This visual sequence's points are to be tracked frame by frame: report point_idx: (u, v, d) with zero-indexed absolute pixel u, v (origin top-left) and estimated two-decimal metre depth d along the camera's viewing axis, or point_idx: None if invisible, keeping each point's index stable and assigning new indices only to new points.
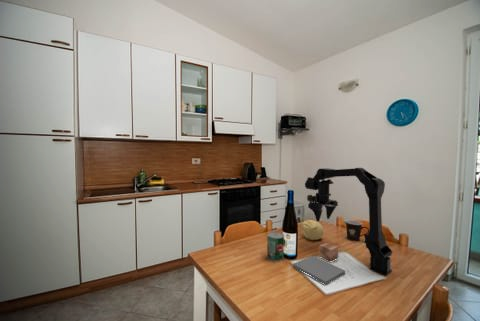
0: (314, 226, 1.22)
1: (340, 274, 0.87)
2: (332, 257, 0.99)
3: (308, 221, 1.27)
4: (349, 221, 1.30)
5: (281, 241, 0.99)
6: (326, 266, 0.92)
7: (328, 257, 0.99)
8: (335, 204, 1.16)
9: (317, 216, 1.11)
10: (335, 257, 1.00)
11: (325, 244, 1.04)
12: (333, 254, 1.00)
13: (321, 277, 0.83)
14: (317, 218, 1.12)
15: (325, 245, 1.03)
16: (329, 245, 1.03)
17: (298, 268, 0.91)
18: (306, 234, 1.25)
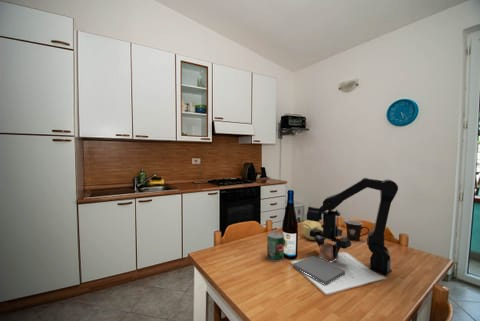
0: (314, 226, 1.22)
1: (340, 274, 0.87)
2: (332, 257, 0.99)
3: (308, 221, 1.27)
4: (349, 221, 1.30)
5: (281, 241, 0.99)
6: (326, 266, 0.92)
7: (328, 257, 0.99)
8: (338, 244, 0.95)
9: None
10: None
11: (325, 244, 1.04)
12: None
13: (321, 277, 0.83)
14: None
15: (325, 245, 1.03)
16: (329, 245, 1.03)
17: (298, 268, 0.91)
18: (306, 234, 1.25)
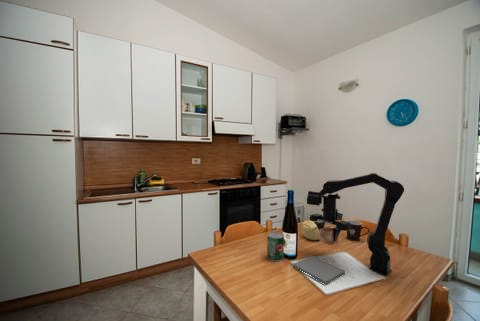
0: (314, 226, 1.22)
1: (340, 274, 0.87)
2: (332, 240, 0.99)
3: (308, 221, 1.27)
4: (349, 221, 1.30)
5: (281, 241, 0.99)
6: (326, 266, 0.92)
7: (328, 240, 0.99)
8: (338, 227, 0.95)
9: None
10: None
11: (325, 228, 1.04)
12: None
13: (321, 277, 0.83)
14: None
15: (325, 229, 1.03)
16: (329, 229, 1.03)
17: (298, 268, 0.91)
18: (306, 234, 1.25)
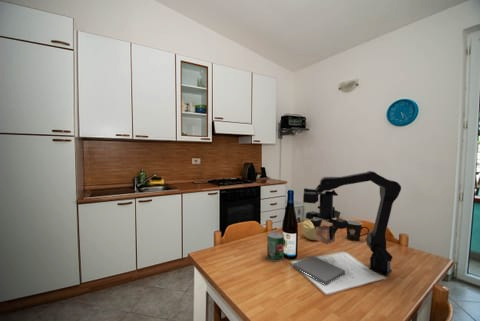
0: None
1: (340, 274, 0.87)
2: (328, 239, 0.95)
3: (308, 221, 1.27)
4: (349, 221, 1.30)
5: (281, 241, 0.99)
6: (326, 266, 0.92)
7: (324, 239, 0.95)
8: (334, 225, 0.91)
9: None
10: None
11: (322, 226, 1.00)
12: None
13: (321, 277, 0.83)
14: None
15: (322, 227, 0.99)
16: (326, 227, 0.99)
17: (298, 268, 0.91)
18: (306, 234, 1.25)
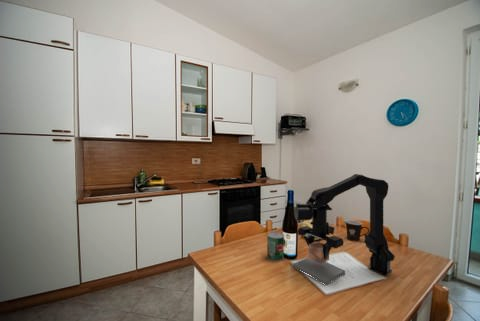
0: None
1: (340, 274, 0.87)
2: (322, 257, 0.88)
3: (308, 221, 1.27)
4: (349, 221, 1.30)
5: (281, 241, 0.99)
6: (326, 266, 0.92)
7: (317, 257, 0.88)
8: (329, 243, 0.84)
9: None
10: None
11: (315, 243, 0.93)
12: None
13: (321, 277, 0.83)
14: None
15: (315, 244, 0.92)
16: (319, 244, 0.92)
17: (298, 268, 0.91)
18: None
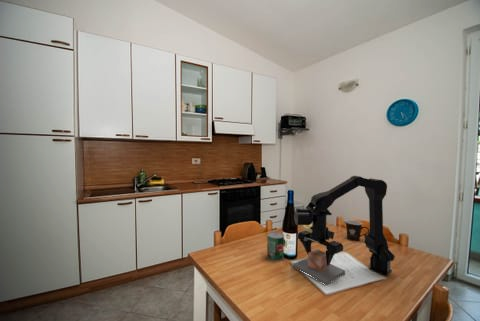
0: None
1: (340, 274, 0.87)
2: (322, 266, 0.88)
3: None
4: (349, 221, 1.30)
5: (281, 241, 0.99)
6: None
7: (317, 266, 0.88)
8: (328, 248, 0.84)
9: None
10: (325, 266, 0.89)
11: (315, 251, 0.93)
12: (323, 262, 0.88)
13: (321, 277, 0.83)
14: None
15: (315, 252, 0.92)
16: (319, 252, 0.92)
17: (298, 268, 0.91)
18: None
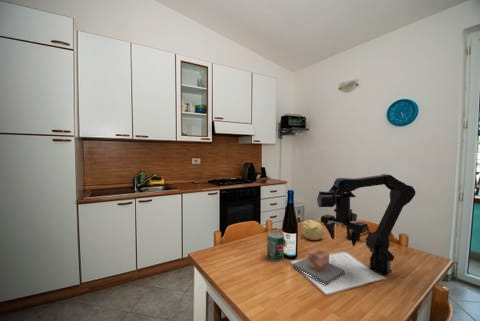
0: (314, 226, 1.22)
1: (340, 274, 0.87)
2: (322, 266, 0.88)
3: (308, 221, 1.27)
4: None
5: (281, 241, 0.99)
6: None
7: (317, 266, 0.88)
8: (354, 229, 0.86)
9: None
10: (325, 266, 0.89)
11: (315, 251, 0.93)
12: (323, 262, 0.88)
13: (321, 277, 0.83)
14: None
15: (315, 252, 0.92)
16: (319, 252, 0.92)
17: (298, 268, 0.91)
18: (306, 234, 1.25)
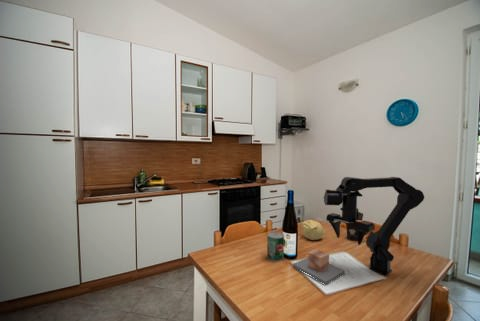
0: (314, 226, 1.22)
1: (340, 274, 0.87)
2: (322, 266, 0.88)
3: (308, 221, 1.27)
4: None
5: (281, 241, 0.99)
6: None
7: (317, 266, 0.88)
8: (361, 227, 0.86)
9: None
10: (325, 266, 0.89)
11: (315, 251, 0.93)
12: (323, 262, 0.88)
13: (321, 277, 0.83)
14: None
15: (315, 252, 0.92)
16: (319, 252, 0.92)
17: (298, 268, 0.91)
18: (306, 234, 1.25)
